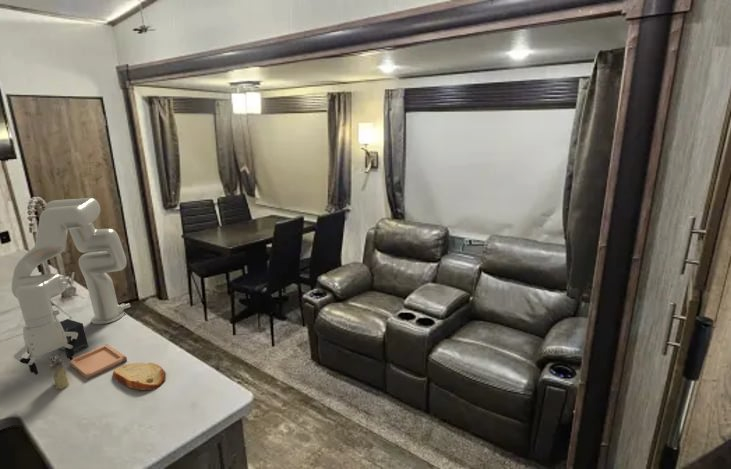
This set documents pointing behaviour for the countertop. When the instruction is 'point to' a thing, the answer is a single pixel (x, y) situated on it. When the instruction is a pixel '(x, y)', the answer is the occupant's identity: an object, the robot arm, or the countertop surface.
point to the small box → (81, 338)
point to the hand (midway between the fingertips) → (53, 365)
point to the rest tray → (97, 361)
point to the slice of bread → (140, 375)
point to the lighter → (58, 373)
